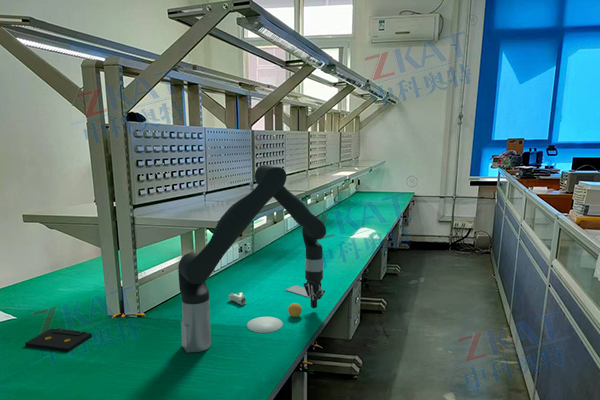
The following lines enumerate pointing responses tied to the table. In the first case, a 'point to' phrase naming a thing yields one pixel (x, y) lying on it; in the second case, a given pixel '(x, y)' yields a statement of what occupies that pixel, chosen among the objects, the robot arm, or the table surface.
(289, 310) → the ball
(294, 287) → the smartphone
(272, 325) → the disc
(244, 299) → the pipe fitting
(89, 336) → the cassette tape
